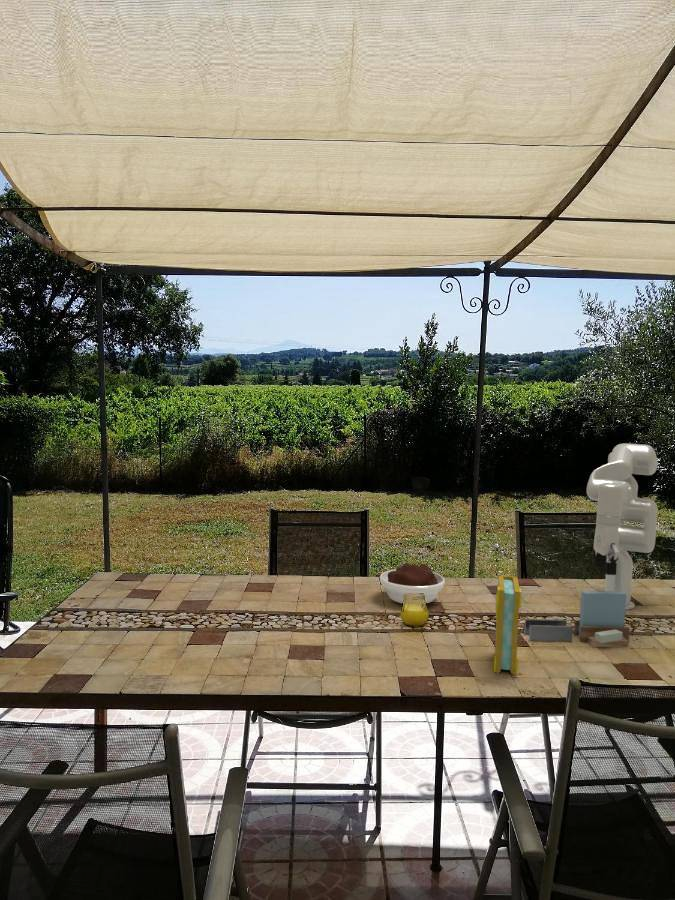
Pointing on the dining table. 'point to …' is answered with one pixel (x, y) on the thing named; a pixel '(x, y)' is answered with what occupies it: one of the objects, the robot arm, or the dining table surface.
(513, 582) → the book
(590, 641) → the offcut lower
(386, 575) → the bowl of chocolate mousse
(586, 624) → the tall sheet
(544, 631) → the grey rack
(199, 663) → the dining table surface
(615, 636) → the offcut upper
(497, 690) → the dining table surface
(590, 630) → the walnut rack
